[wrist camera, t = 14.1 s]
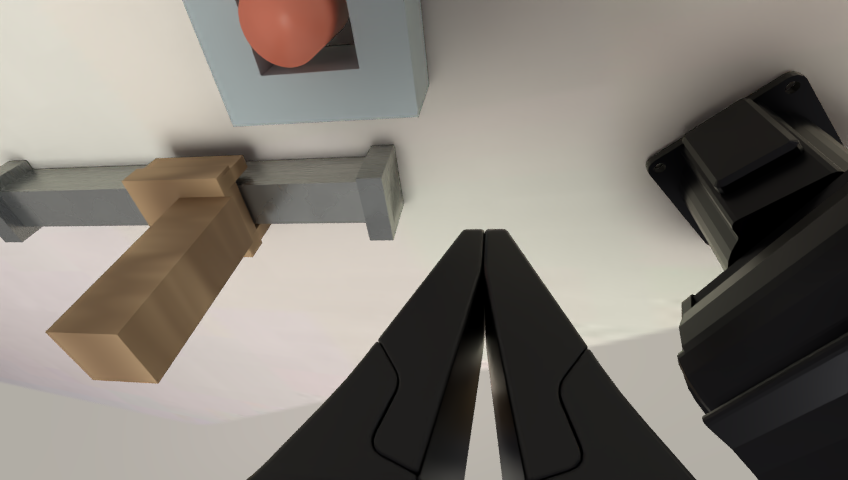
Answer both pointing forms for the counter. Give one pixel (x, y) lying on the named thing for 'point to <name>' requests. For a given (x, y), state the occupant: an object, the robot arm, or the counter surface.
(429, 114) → the counter surface
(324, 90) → the box
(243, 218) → the wooden t-block
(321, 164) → the rail
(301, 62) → the button
